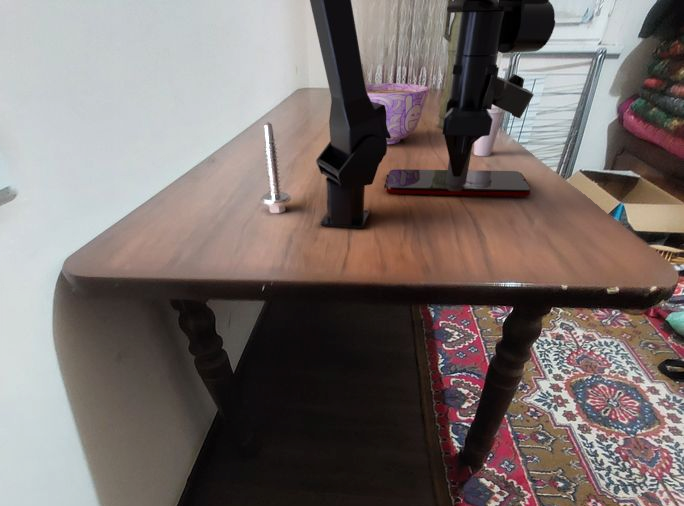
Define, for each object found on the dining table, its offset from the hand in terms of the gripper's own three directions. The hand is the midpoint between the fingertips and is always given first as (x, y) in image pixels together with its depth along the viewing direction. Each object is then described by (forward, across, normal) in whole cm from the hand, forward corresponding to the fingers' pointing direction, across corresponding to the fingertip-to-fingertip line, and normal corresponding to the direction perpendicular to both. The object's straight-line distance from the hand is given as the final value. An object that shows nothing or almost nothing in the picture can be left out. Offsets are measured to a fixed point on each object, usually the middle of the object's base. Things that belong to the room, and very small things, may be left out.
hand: (456, 173), depth 66 cm
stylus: (+2, 0, 0) cm, 3 cm away
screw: (+5, -10, +28) cm, 30 cm away
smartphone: (+5, +8, 0) cm, 9 cm away
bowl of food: (+5, +43, +18) cm, 47 cm away
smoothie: (+5, +33, -6) cm, 34 cm away
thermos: (+5, +64, +1) cm, 64 cm away
